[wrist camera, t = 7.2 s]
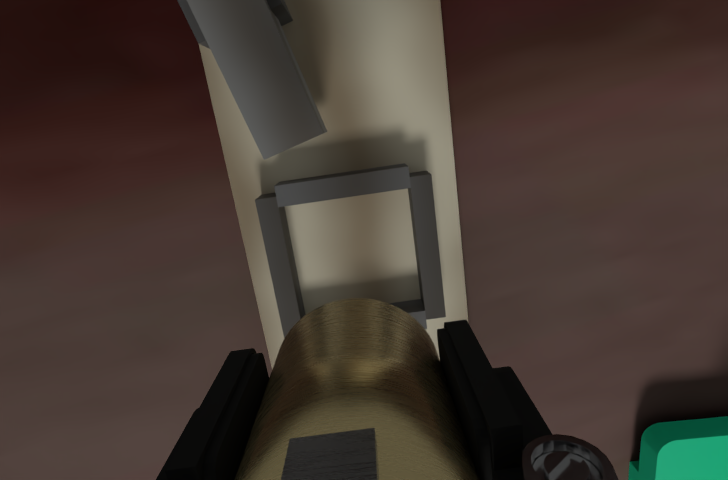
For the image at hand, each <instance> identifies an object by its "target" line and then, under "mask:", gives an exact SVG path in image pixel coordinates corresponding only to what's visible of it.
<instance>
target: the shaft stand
mask: <svg viewBox="0 0 728 480" xmlns="http://www.w3.org/2000/svg"><path fill="white" fill-rule="evenodd" d="M177 1H178V3H179V5H180V7H181V9H182V11H183V13H184V15H185V17H186V19H187V21H188V23H189V25H190V27H191V29H192V31H193V33H194V35H195V37H196V39H197V41H198V43H199V47H200V52H201V56H202V60H203V65H204V69H205V74H206V78H207V83H208V87H209V91H210V96H211V100H212V105H213V109H214V114H215V118H216V122H217V127H218V131H219V136H220V140H221V145H222V149H223V153H224V158H225V162H226V167H227V171H228V176H229V180H230V184H231V189H232V193H233V198H234V202H235V207H236V211H237V215H238V220H239V224H240V229H241V233H242V238H243V242H244V246H245V251H246V255H247V260H248V264H249V269H250V273H251V277H252V282H253V286H254V291H255V295H256V300H257V304H258V308H259V313H260V317H261V322H262V326H263V331H264V335H265V339H266V344H267V348H268V353H269V357H270V362H271V366H272V369H273V367H274V364H275V361H276V358H277V355H278V352H279V349H280V347H281V344H282V342H283V340H284V338H285V337H286V335H287V334H288V332H289V331H290V329H291V328H292V327H293V326H294V325H295V324H296V323H297V322H298V321H299V320H300V319H301V318H302V317H303V316H305V315H306V314H308V313H309V312H311V311H312V310H314V309H316V308H318V307H320V306H322V305H324V304H327V303H330V302H333V301H338V300H343V299H351V298H365V299H373V300H379V301H382V302H386V303H389V304H391V305H394V306H396V307H398V308H400V309H402V310H403V311H405V312H407V313H408V314H410V315H411V316H412V317H413V318H415V319H416V320H417V321H418V322H419V323H420V324H421V325H422V326H423V327H424V328H425V330H426V331H427V333H428V334H429V335H430V337H431V339H432V341H433V343H434V345H435V348H436V351H437V354H438V357H439V348H438V339H437V329H441V328H444V322H451V321H458V320H467V322H468V312H467V301H466V289H465V278H464V266H463V255H462V244H461V232H460V221H459V210H458V198H457V187H456V175H455V164H454V153H453V141H452V130H451V118H450V107H449V96H448V84H447V73H446V61H445V50H444V39H443V27H442V16H441V4H440V0H177ZM468 324H469V323H468ZM439 360H440V357H439Z"/></svg>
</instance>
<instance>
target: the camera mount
mask: <svg viewBox="0 0 728 480" xmlns="http://www.w3.org/2000/svg"><path fill="white" fill-rule="evenodd" d="M628 480H728V416H724V417H714V418H703V419H692V420H682V421H671V422H661V423H656V424H653V425H651V426H649V427H648V428H647V429H646V430H645V431H644V433H643V434H642V437H641V448H640V459H639V461H630V466H629V479H628Z"/></svg>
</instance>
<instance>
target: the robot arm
mask: <svg viewBox="0 0 728 480" xmlns="http://www.w3.org/2000/svg"><path fill="white" fill-rule="evenodd" d="M437 339H438V348H439V357H440V363H441V366H442V369H443V372H444V375H445V378H446V381H447V384H448V387H449V390H450V393H451V396H452V399H453V402H454V405H455V408H456V411H457V414H458V417H459V420H460V423H461V426H462V429H463V432H464V435H465V438H466V441H467V444H468V447H469V450H470V453H471V456H472V459H473V462H474V465H475V468H476V471H477V474H478V477H479V480H618V478H617V475H616V473H615V470H614V468H613V466H612V464H611V463H610V461H609V459H608V458H607V456H606V455H605V454H604V453H602V452H601V451H600V450H599V449H598V448H597V447H595V446H593V445H592V444H590V443H588V442H586V441H584V440H582V439H579V438H575V437H572V436H567V435H559V434H556V435H552V433H551V431H550V430H549V428H548V426H547V425H546V423H545V422H544V420H543V418H542V417H541V415H540V413H539V412H538V410H537V408H536V407H535V405H534V404H533V402H532V400H531V399H530V397H529V395H528V394H527V392H526V391H525V389H524V387H523V386H522V384H521V382H520V381H519V379H518V377H517V376H516V374H515V373H514V371H513V370H512V368H511V367H501V368H492V367H491V365H490V363H489V361H488V359H487V357H486V355H485V354H484V352H483V350H482V348H481V346H480V344H479V342H478V340H477V339H476V337H475V335H474V333H473V331H472V329H471V327H470V325H469V324H468V322H467V320H458V321H451V322H444V328H441V329H437ZM268 381H269V377H268V372H267V368H266V363H265V359H264V356H263V354H262V353H257V354H256V351H255V350H254V349H253V348H252V349H245V350H237V351H231V352H230V353H229V355H228V357H227V359H226V360H225V362H224V364H223V366H222V368H221V370H220V371H219V373H218V375H217V377H216V379H215V380H214V382H213V384H212V386H211V388H210V389H209V391H208V393H207V395H206V397H205V398H204V400H203V402H202V404H201V406H200V408H198V409H196V410H195V412H194V413H193V415H192V417H191V418H190V420H189V422H188V424H187V425H186V427H185V429H184V431H183V433H182V434H181V436H180V438H179V440H178V441H177V443H176V445H175V447H174V449H173V450H172V452H171V454H170V456H169V457H168V459H167V461H166V463H165V465H164V466H163V468H162V470H161V472H160V473H159V475H158V477H157V479H156V480H235V477H236V474H237V471H238V468H239V465H240V462H241V459H242V457H243V454H244V451H245V448H246V445H247V442H248V439H249V436H250V433H251V430H252V428H253V425H254V422H255V419H256V416H257V413H258V410H259V407H260V404H261V401H262V398H263V396H264V393H265V390H266V387H267V384H268Z"/></svg>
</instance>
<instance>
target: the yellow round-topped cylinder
mask: <svg viewBox="0 0 728 480" xmlns="http://www.w3.org/2000/svg"><path fill="white" fill-rule="evenodd" d="M235 480H479V477H478V474H477V471H476V468H475V465H474V462H473V459H472V456H471V453H470V450H469V447H468V444H467V441H466V438H465V435H464V432H463V429H462V426H461V423H460V420H459V417H458V414H457V411H456V408H455V405H454V402H453V399H452V396H451V393H450V390H449V387H448V384H447V381H446V378H445V375H444V372H443V369H442V366H441V363H440V360H439V357H438V354H437V351H436V348H435V345H434V343H433V341H432V339H431V337H430V335H429V334H428V333H427V331H426V330H425V328H424V327H423V326H422V325H421V324H420V323H419V322H418V321H417V320H416V319H415V318H413V317H412V316H411V315H410V314H408V313H407V312H405V311H403V310H402V309H400V308H398V307H396V306H394V305H391V304H389V303H386V302H382V301H379V300H373V299H365V298H351V299H343V300H338V301H333V302H330V303H327V304H324V305H322V306H320V307H318V308H316V309H314V310H312V311H311V312H309V313H308V314H306V315H305V316H303V317H302V318H301V319H300V320H299V321H298V322H297V323H296V324H295V325H294V326H293V327H292V328H291V329H290V331H289V332H288V334H287V335H286V337H285V338H284V340H283V342H282V344H281V347H280V349H279V352H278V355H277V358H276V361H275V364H274V367H273V369H272V372H271V375H270V378H269V381H268V384H267V387H266V390H265V393H264V396H263V398H262V401H261V404H260V407H259V410H258V413H257V416H256V419H255V422H254V425H253V428H252V430H251V433H250V436H249V439H248V442H247V445H246V448H245V451H244V454H243V457H242V459H241V462H240V465H239V468H238V471H237V474H236V477H235Z"/></svg>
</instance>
